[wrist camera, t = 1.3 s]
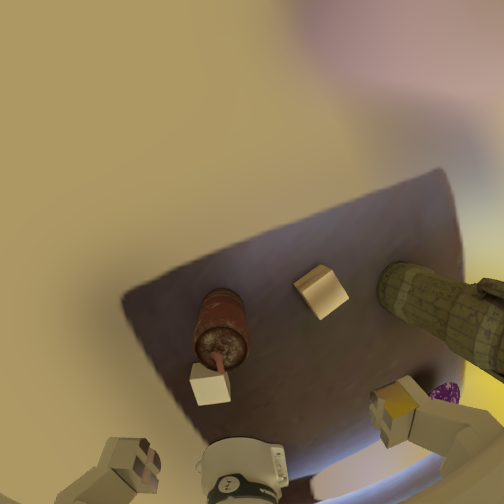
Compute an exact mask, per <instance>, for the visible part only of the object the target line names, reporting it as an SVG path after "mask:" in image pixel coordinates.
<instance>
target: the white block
mask: <svg viewBox="0 0 504 504" xmlns="http://www.w3.org/2000/svg"><path fill="white" fill-rule="evenodd" d="M190 383H191V386H192V389H193V392H194V394H195V397H196V400H197V403H198V406H199V405H208V404H216V403H223V402H230V401H231V395H230V382H229V378H228V374H227V372H225V374H223V375H221V374H219V373H218V372H214V371H212V370H209V369H207V368H206V367H204V366H203V365H202V364H201V363H194V364H193V366H192V370H191V375H190Z"/></svg>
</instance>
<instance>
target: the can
mask: <svg viewBox="0 0 504 504" xmlns="http://www.w3.org/2000/svg"><path fill="white" fill-rule="evenodd" d="M250 347H251V343H250V338H249V333H248V327H247V322H246V317H245V311H244V306H243V302H242V300H241V298H240V296H239V295H237V294H236V293H235V292H234V291H231V290H229V289H222V288H221V289H216V290H214V291H212V292H210V293H209V294H208V295H207V296H206V297H205V298H204V300H203V303H202V306H201V309H200V313H199V317H198V320H197V324H196V327H195V331H194V335H193V339H192V349H193V352H194V355H195V357H196V358H197V359H198V361H199V362H200V363H201V364H202V365H203V366H204V367H206V368H207V369H209V370H212V371H214V372H218V373H219V374H221V375H223V374H225V372H229V371H232V370H234V369H236V368H238V367H239V366H240V365H241V364H243V363H244V361H245V360H246V359H247V357H248V355H249V353H250Z"/></svg>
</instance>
